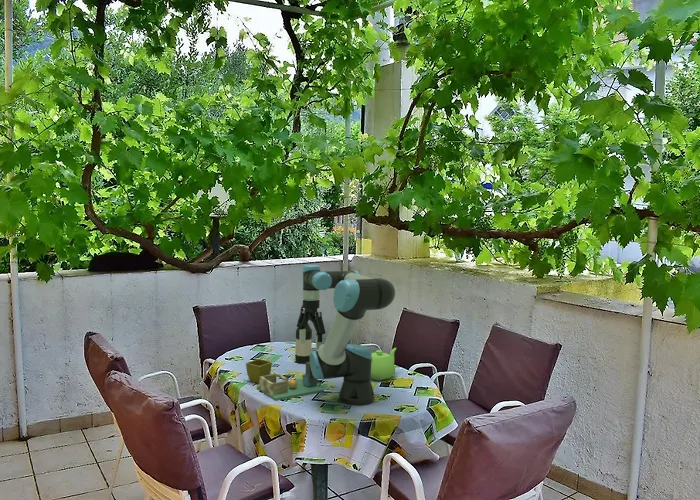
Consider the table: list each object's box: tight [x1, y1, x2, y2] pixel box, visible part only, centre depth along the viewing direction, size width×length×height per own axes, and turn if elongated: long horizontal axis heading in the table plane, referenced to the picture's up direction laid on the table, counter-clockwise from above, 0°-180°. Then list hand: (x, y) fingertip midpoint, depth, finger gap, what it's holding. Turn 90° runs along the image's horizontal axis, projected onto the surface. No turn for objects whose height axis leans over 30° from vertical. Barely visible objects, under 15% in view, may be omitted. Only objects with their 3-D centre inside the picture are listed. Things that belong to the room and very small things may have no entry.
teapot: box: [371, 347, 397, 381], centre depth 285 cm, size 22×15×13 cm
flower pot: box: [245, 358, 273, 384], centre depth 273 cm, size 9×9×9 cm
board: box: [256, 378, 325, 402], centre depth 262 cm, size 18×24×1 cm
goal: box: [258, 371, 289, 395], centre depth 258 cm, size 12×8×6 cm, turn 34°
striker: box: [302, 362, 319, 387], centre depth 266 cm, size 5×5×10 cm
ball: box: [288, 378, 297, 389], centre depth 261 cm, size 4×4×4 cm
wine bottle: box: [294, 304, 313, 365], centre depth 306 cm, size 8×8×30 cm
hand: (310, 346), depth 266 cm, fingers open, 13 cm apart
